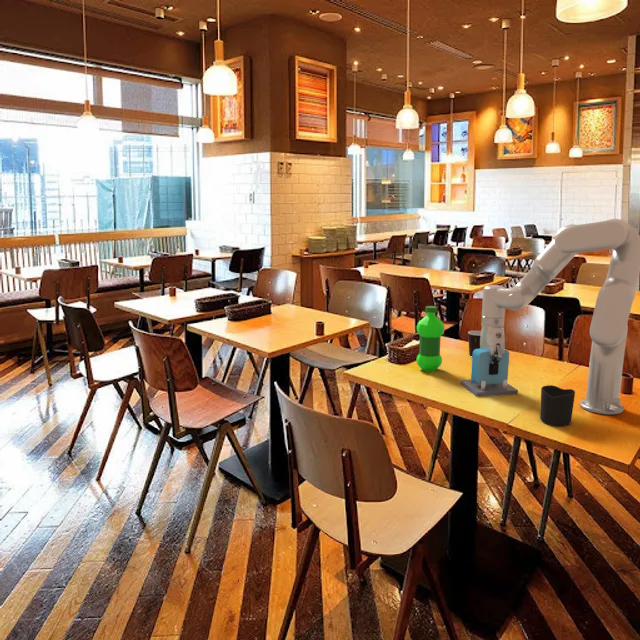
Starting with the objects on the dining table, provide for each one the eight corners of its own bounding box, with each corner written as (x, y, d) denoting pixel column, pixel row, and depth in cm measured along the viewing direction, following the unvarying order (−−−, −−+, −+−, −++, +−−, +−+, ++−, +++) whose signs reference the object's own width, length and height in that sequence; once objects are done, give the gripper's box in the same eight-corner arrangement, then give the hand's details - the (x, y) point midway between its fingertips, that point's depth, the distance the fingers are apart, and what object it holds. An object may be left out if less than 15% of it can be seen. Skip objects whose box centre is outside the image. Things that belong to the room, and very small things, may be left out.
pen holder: (561, 415, 185) (564, 384, 183) (578, 426, 176) (581, 394, 174) (533, 416, 184) (535, 385, 182) (548, 428, 175) (551, 396, 173)
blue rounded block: (500, 378, 213) (502, 346, 210) (507, 382, 208) (509, 349, 206) (470, 381, 209) (472, 349, 207) (477, 385, 205) (479, 352, 203)
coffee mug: (474, 352, 258) (476, 329, 256) (491, 356, 252) (493, 333, 250) (458, 356, 251) (459, 333, 249) (475, 361, 244) (476, 337, 242)
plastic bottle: (443, 374, 227) (445, 309, 222) (415, 372, 228) (417, 309, 223) (441, 366, 237) (444, 305, 231) (415, 365, 238) (417, 304, 233)
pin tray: (517, 394, 204) (518, 381, 203) (476, 396, 202) (477, 384, 201) (498, 381, 218) (499, 370, 217) (460, 384, 215) (460, 372, 214)
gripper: (514, 326, 197) (511, 378, 201) (491, 316, 213) (488, 364, 217) (493, 327, 196) (490, 379, 199) (472, 316, 212) (469, 365, 216)
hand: (489, 371), depth 208 cm, fingers closed on blue rounded block, 4 cm apart
